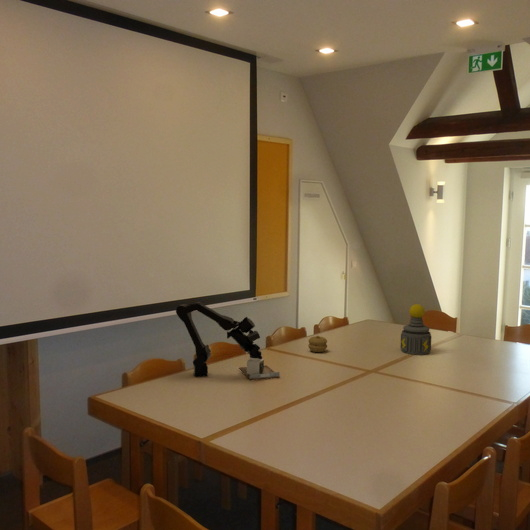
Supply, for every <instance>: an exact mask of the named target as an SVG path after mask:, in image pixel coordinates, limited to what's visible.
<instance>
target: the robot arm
mask: <svg viewBox="0 0 530 530" xmlns="http://www.w3.org/2000/svg"><path fill="white" fill-rule="evenodd" d="M196 311H197V312H199V313H201V314H202V315H204V316H205V317H208V319H211V320H213V321H214V322H215V323H216V324H217V325H218V326H219V327H221V328H222V329H223V330H224V331H226V339H229V338H232V339H233V340H234V341H235V342H236V343H237V344H238V346H239V348H241V350H243V351H244V352H246V353H247V354H248V355H249V356H250V355H251V356H253V357H256V358H259V359H263V356H262V354H261V355H260V353H259V351H260V350H261V347H260V346H259V345H258V343H254V341H256V340H259V339H260V338H261V335H260V334H259V332H258V331H257V330H253V329H254V328H255V327H256V325H255V323H254V322H253V320H251V318H248V316H245V317H244V318H243V319H242V320H241V321H238V320H234V318H232V317H230V316H227V315H224V314H220V313H218V312H217V311H215V310H213V309H212V308H210V307H209V306H207V305H205V304H204V303H202V302H201V301H197V302H195V303H190V304H186V303H183V304H180V305H179V306H177V307H176V309H175V313H176V316H177V317H178V318H179V319H180V320H181V321H182V322H183V324H184V326H185V327H186V330H187V331H188V334H189V336H190V339H191V341H192V343H193V346H194V348H195V355H196V358H194V360H193V361H192V364H193V373H192V374H193V375H194V377H196V378H198V377H199V378H200V377H208V374H209V373H208V371H209V370H208V369H209V367H208V365H207V361H208V360H209V359H210V358H211V355H212V353H211V352H212V350H211V349H210V347H209V344H204V341H203V340H202V338H201V336H200V334H199V331H198V330H197V327H196V325H195V323H194V321H193V317H192V316H193V315H192V313H193V312H196ZM247 333H248V334H247ZM246 334H247V335H246ZM258 350H259V351H258Z"/></svg>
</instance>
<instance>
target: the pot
mask: <svg viewBox="0 0 530 530" xmlns="http://www.w3.org/2000/svg"><path fill="white" fill-rule="evenodd" d="M327 343H328V340H327V338H326V337H324V336H320V335H316V336H311V337H310V338H309V339H308V344H307V345H308V346H307V347H308V349H309V350H310V351H311V352H312V353H313V352H314V353H323V352H325V351H326V350H327V348H328V345H327Z"/></svg>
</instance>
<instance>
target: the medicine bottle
mask: <svg viewBox="0 0 530 530" xmlns="http://www.w3.org/2000/svg"><path fill="white" fill-rule="evenodd" d="M258 351H259V353H260V355H261V356H262V351H261V350H260V349H259V350H258ZM264 361H265V360H264V358H262V359H259V358H256V357H253V356H251V355H249V359H248V360H247V361H246V367H247V374H258V373H263V372H264V366H265V362H264Z"/></svg>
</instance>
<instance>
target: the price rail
mask: <svg viewBox="0 0 530 530" xmlns="http://www.w3.org/2000/svg"><path fill="white" fill-rule="evenodd" d="M275 376H280V377H281V375H280V371H274V372H270V373H258V374H249V378H250V379H252V378H264V377H275Z"/></svg>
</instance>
